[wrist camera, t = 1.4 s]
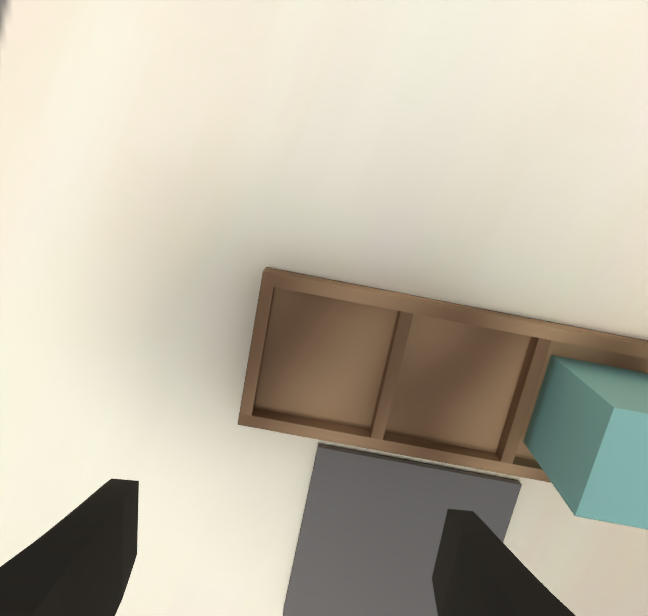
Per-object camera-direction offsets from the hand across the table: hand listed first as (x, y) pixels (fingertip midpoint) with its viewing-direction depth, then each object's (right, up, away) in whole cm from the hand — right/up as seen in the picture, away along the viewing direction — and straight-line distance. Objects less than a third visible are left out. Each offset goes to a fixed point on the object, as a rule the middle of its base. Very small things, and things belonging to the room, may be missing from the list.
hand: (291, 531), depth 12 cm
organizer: (+6, +2, +10) cm, 12 cm away
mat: (+4, -6, +12) cm, 14 cm away
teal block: (+12, +1, +10) cm, 15 cm away
